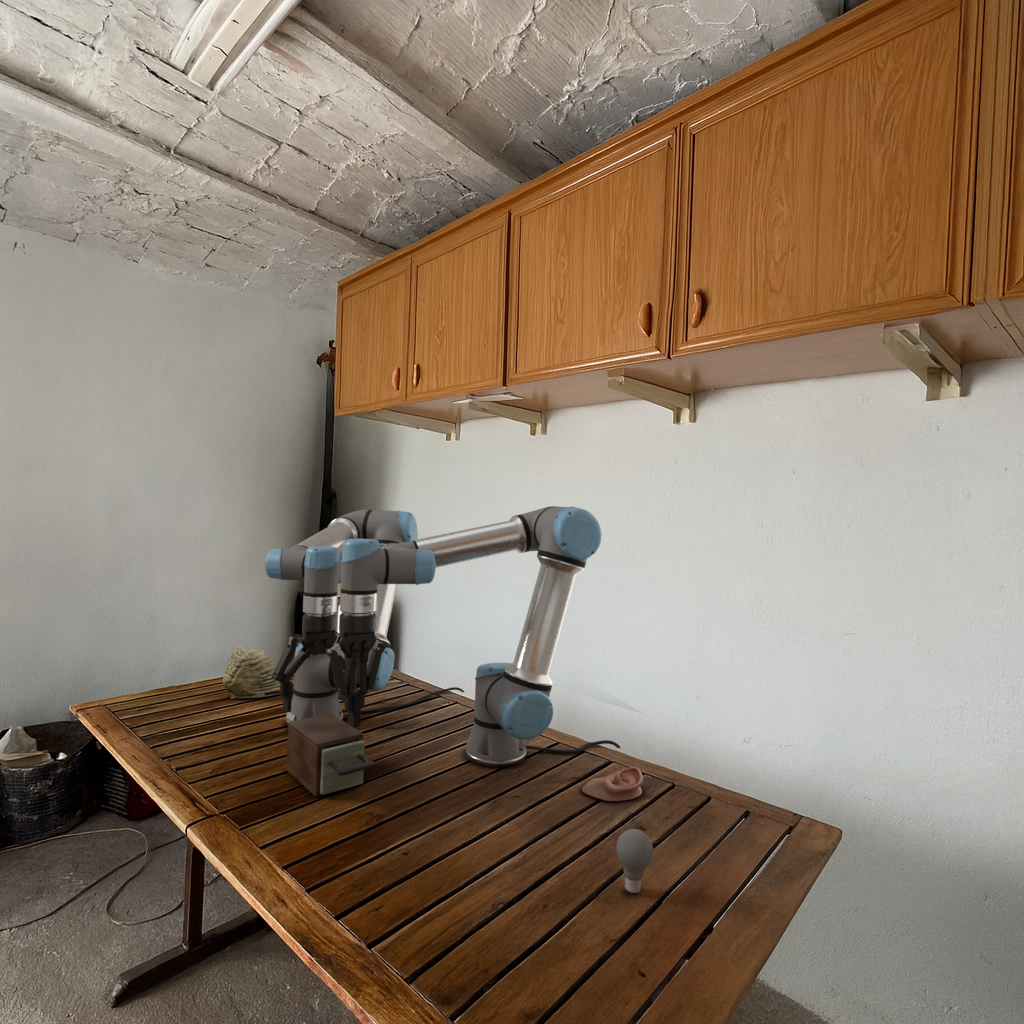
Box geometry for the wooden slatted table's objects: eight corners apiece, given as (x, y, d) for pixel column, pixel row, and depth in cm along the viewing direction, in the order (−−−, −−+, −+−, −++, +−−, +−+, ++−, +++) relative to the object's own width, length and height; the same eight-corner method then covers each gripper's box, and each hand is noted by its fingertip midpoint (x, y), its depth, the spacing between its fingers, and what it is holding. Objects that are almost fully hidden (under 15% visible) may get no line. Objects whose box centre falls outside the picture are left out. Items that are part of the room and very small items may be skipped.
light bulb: (610, 879, 108) (613, 822, 108) (644, 879, 109) (647, 822, 109) (619, 902, 102) (622, 840, 102) (655, 901, 103) (658, 840, 103)
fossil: (218, 695, 195) (220, 647, 195) (278, 685, 208) (279, 640, 207) (228, 703, 189) (230, 653, 188) (289, 692, 201) (290, 645, 201)
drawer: (377, 793, 134) (378, 750, 134) (335, 806, 128) (337, 761, 128) (333, 760, 150) (335, 721, 150) (294, 770, 144) (296, 729, 143)
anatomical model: (581, 779, 138) (585, 758, 149) (580, 797, 138) (585, 775, 149) (643, 787, 135) (643, 766, 147) (642, 806, 136) (642, 783, 147)
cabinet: (361, 783, 141) (363, 733, 140) (315, 796, 134) (317, 744, 133) (329, 759, 153) (331, 713, 152) (286, 770, 146) (288, 721, 146)
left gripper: (271, 620, 135) (267, 719, 135) (376, 612, 151) (372, 700, 152) (259, 615, 141) (255, 710, 141) (361, 607, 157) (357, 692, 157)
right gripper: (337, 618, 125) (332, 737, 126) (394, 613, 134) (390, 723, 134) (320, 612, 131) (316, 725, 131) (377, 607, 139) (372, 713, 140)
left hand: (316, 705), depth 146 cm, fingers open, 13 cm apart
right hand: (353, 724), depth 133 cm, fingers closed
